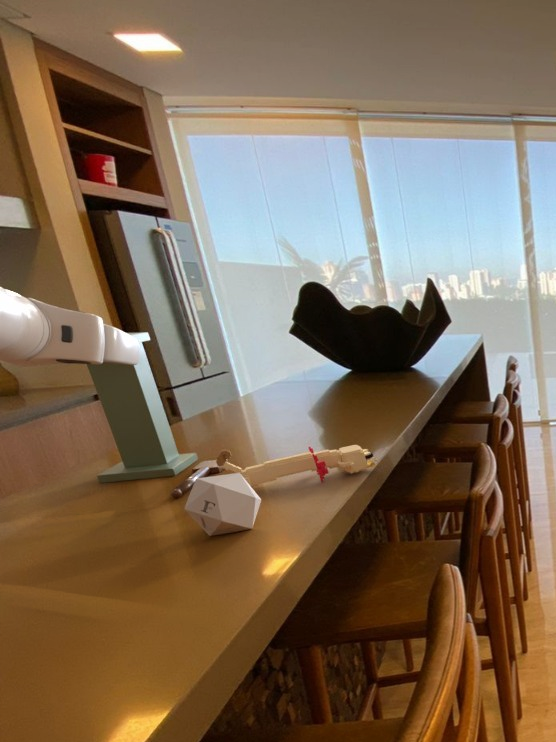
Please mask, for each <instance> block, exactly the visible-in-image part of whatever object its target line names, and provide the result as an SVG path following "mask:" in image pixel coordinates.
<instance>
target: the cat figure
mask: <svg viewBox="0 0 556 742" xmlns="http://www.w3.org/2000/svg"><path fill="white" fill-rule="evenodd" d="M231 457H233V456H232V453H231V450H228V449H227V448H225V449H221V450H220V452H219V453H218V454H217V456H216V459H215V460H216V463H217V466H220V468H222V467H223V470H224V469H225V471H229V470H230V472H232V473H240V474H241V475H242V476H243V478H244V479H245V480H246V481H247V483H248V484H249V485H250V486H251V487H252V488H256V487H258V486H259V485H260V484H265V483H268V482H273V481H277V479H279V478H283V477H287V476H292V475H295V474H299V473H300V474H301V473H304V472H309V471H311V472H316V474H317V475H318V476H319V478H320V482H321V483H323V482H324V479H325V476H326V475H327V474H329V470H330V469H331V470H332V469H335V468H340V467H341V468H343V469H344V471H345V472H347V473H348V474H349V473H350V474H353V473H358V472H360V471H362V470H366V469H368V468H371V467H374V466H376V463H375V462H378V459H377V458H376V457H374V454H373V453H372V452H371V450H370V449H368V448H362V447H361V446H360V445H358V444H352V445H348V446H342V447H339V448H338V449H336V448H335V449H331V450H330V449H323V450H319V451H318V450H317V451H314V449H313V447H311V446H308V451H307V452H302V453H298V454H293V455H288V456H284V457H280V458H276V459H275V458H274V459H271V460H270V459H269V460H266V461H264V462H263V463H261V464H256V465H251V466H247V467H244V468H245V469H243V468H242V467H239V466H237V465H236V464H233V463H231V462H229V463H228V462H225V461H227V459H228V460H230V459H231ZM328 468H329V470H328Z"/></svg>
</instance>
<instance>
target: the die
mask: <svg viewBox="0 0 556 742" xmlns="http://www.w3.org/2000/svg"><path fill="white" fill-rule="evenodd" d="M190 490H191V491H190V493H189V496H188V498H187V500H186V503H185V505H184V508H183V509H184V511H185V512H186V513H187V515H189V517H191V518H192V519H193V520H194V522H196V523H197V525H199V527H200V528H201V529H203V531H204V532H205V533H206V534H207V535H208V536H209V537H213V536H218V535H225V534H230V533H235V532H241V531H247V530H252V529H253V528H254V525H255V522H256V518H257V516H258V512H259V509H260V507H261V506H260V505H261V503H262V498H261V497H260V496H259V495H258V494H257V492H256V491H255V490H254V488H253V487H251V486H250V485H249V484H248V483H247V481H246V480H245V479H244V478H243V476H242V475H241V474H240V473H236V472H233V473H226V474H221V475H220V474H219V475H213V476H205V477H204V478H197V479H196V480H195V483H194V485H193V487H192V488H191V489H190Z"/></svg>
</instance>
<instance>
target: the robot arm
mask: <svg viewBox="0 0 556 742" xmlns="http://www.w3.org/2000/svg"><path fill="white" fill-rule="evenodd" d="M127 333H128V332H125V331H124V330H122V329H119V328H117V327H115V326H112V325H110V324H106V323H104V319H103V318H102V317H100V316H99V315H96V314H94V313H89V312H85V311H80V310H76V309H70V308H66V307H61V306H55V305H52V304H48V303H45V302H43V301H40V300H37V299H34V298H32V297H25V296H23V295H21V294H19V293H17V292H15V291H11V290H9V289H6V288H3V287H2V286H0V363H2V364H6V365H9V366H12V367H13V366H14V367H21V368H26V367H27V368H30V367H36V366H48V365H58V364H66V365H67V364H68V365H69V364H70V365H71V364H72V365H73V364H77V365H80V364H81V365H87V364H102V363H103V362H107V363H118V364H126V365H137V364H138V363H139V360H140V345H139V342H138V341H137V340H136V339H135V338H134V337H132V336H130V335H129V334H127Z"/></svg>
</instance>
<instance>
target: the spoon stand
mask: <svg viewBox="0 0 556 742" xmlns="http://www.w3.org/2000/svg"><path fill="white" fill-rule="evenodd" d="M126 333H127V334H129V335H130V336H132V337H134V338H135V339H136V340H137V341H138V342H139V345H140V360H139V363H138V364H137V365H126V364H118V363H107V362H103V363H102V364H86V367H87V370H88V372H89V375H90V378H91V380H92V382H93V386H94V388H95V391H96V394H97V396H98V399H99V402H100V404H101V408H102V410H103V412H104V415H105V418H106V420H107V421H106V422H107V423H108V426H109V429H110V432H111V433H112V437H113V440H114V442H115V445H116V448H117V450H118V454H119V456H120V459H121V462H119V463H116V464H115V465H113V466H111V467H110V468H107V469H106V470H104V471H102V472H100V473H98V474H97V475H96V477H97V480H98V482H99V483H100V484H103V483H113V482H124V481H135V480H145V479H146V480H147V479H157V478H166V477H167V478H169V477H176V476H177V475H178V474H180V473H181V472H183V471H184V470H186V469H187V468H188V467H190V466H192V465H193V464H194V463H196V462H197V461H198V460H199V457H198V455H197V452H189V453H188V452H186V453H179V451H178V448H177V445H176V442H175V439H174V435H173V432H172V428H171V427H170V424H169V421H168V420H169V419H168V417H167V414H166V411H165V408H164V405H163V402H162V399H161V396H160V393H159V390H158V386H157V384H156V381H155V378H154V375H153V372H152V369H151V366H150V363H149V360H148V357H147V354H146V350H145V348H144V345H143V342H149V341H151V337H150V333H149V332H148V331H146V332H143V331H142V332H126Z"/></svg>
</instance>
